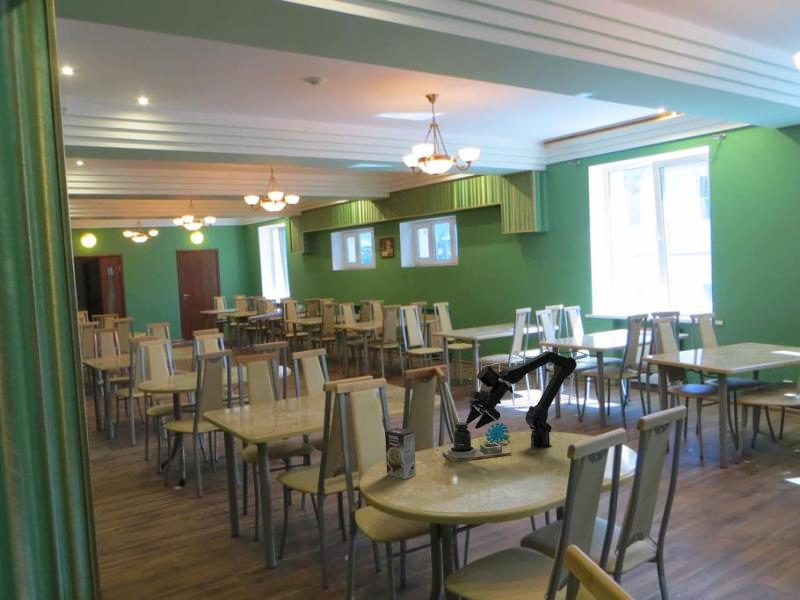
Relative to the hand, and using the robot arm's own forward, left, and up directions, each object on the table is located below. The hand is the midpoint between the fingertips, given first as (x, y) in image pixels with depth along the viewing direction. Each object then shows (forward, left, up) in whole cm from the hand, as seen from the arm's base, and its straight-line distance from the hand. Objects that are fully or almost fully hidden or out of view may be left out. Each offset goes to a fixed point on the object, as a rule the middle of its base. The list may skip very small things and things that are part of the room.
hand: (471, 425), depth 259 cm
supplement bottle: (+4, 0, -11) cm, 11 cm away
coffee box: (+32, +13, -12) cm, 37 cm away
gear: (-17, -14, -12) cm, 25 cm away
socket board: (-2, 0, -11) cm, 12 cm away
